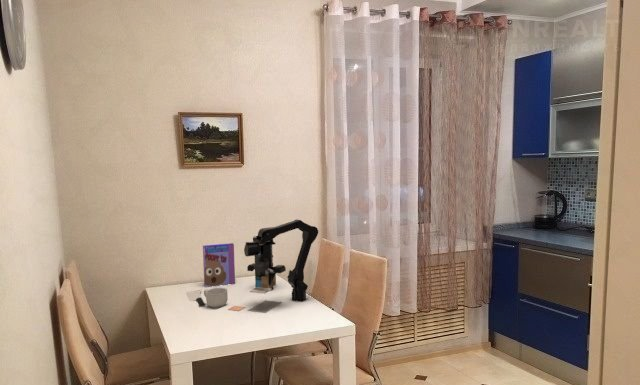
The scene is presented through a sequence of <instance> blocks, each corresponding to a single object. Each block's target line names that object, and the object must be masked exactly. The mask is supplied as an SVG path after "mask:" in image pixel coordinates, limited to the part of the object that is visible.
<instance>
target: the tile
mask: <svg viewBox="0 0 640 385" xmlns="http://www.w3.org/2000/svg"><path fill="white" fill-rule="evenodd" d="M245 308H246V306H241V305H233V306H231V307H229V308H228V309H227V310H228V311H233V312H240V311H242V310H244V309H245Z"/></svg>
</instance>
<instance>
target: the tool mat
mask: <svg viewBox="0 0 640 385" xmlns="http://www.w3.org/2000/svg"><path fill="white" fill-rule="evenodd" d="M282 303H283V302H282V301H278V300H277V301H275V300H266V299H265V300H263V301H262V302H260V303H258V304H256V305H254V306H253V307H251V308H250V309H248V310H247V311H246V312H254V313H262V314H266V313H267V312H270V311H271V310H272V309H274V308H276V307H278V306H279V305H281V304H282Z"/></svg>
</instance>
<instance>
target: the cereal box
mask: <svg viewBox="0 0 640 385" xmlns="http://www.w3.org/2000/svg"><path fill="white" fill-rule="evenodd" d="M202 257H203V258H202V259H203V260H202V261H203V264H202V265H203V285H204V288H213V287H221V286H220V285H222V286H229V285H228V284H231V285H235V284H236V273H235V272H236V271H235V270H236V269H235V244H234V243H220V244H207V245H202ZM212 286H213V287H212Z"/></svg>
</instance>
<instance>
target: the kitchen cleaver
mask: <svg viewBox="0 0 640 385" xmlns="http://www.w3.org/2000/svg"><path fill="white" fill-rule="evenodd" d="M201 293H202V289H195V290H191V291H187V292H185V294H186V296H187V298H188V301H189V302H197V303H198V307H199V308H205V306H206V303H205V302H204V300H203V298H202V297H201Z"/></svg>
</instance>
